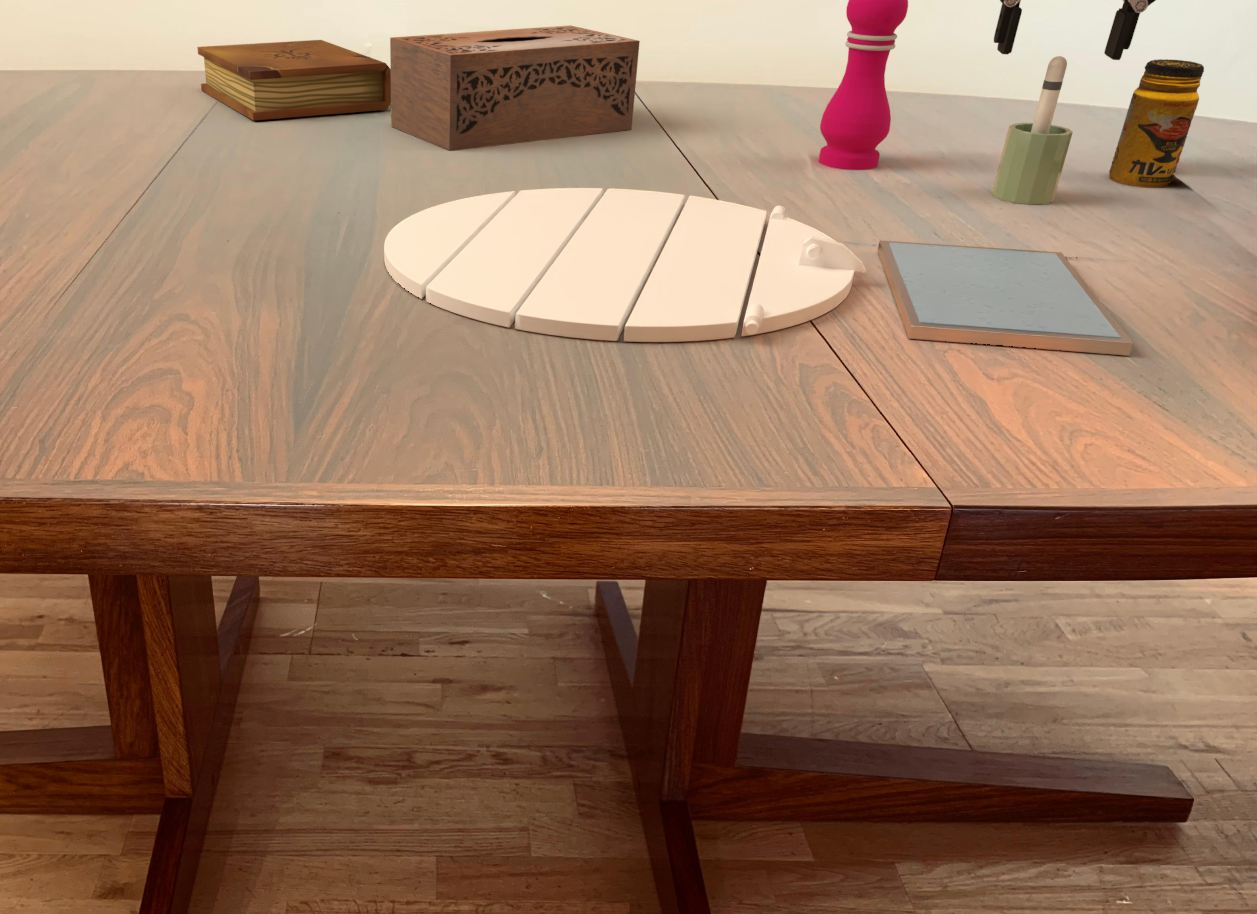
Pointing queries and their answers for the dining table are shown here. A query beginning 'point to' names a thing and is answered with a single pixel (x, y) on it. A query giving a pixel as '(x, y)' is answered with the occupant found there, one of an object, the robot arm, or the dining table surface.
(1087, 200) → the dining table surface
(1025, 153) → the pen pot
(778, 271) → the round wooden slat board
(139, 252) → the dining table surface
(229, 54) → the diary
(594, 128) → the tissue box cover
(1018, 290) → the tablet
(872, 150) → the pepper mill
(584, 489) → the dining table surface
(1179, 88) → the condiment
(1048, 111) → the stylus
